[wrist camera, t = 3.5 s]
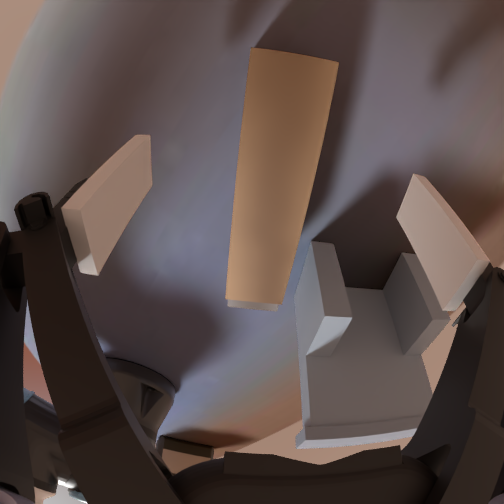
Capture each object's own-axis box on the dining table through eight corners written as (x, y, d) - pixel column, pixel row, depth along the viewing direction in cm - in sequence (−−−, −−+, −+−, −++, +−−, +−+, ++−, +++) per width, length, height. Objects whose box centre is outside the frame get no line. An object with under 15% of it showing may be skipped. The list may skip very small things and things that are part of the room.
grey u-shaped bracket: (288, 298, 30) (295, 448, 18) (305, 240, 25) (329, 417, 13) (393, 305, 30) (428, 432, 19) (422, 255, 26) (483, 394, 14)
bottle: (207, 450, 76) (201, 522, 56) (156, 439, 72) (145, 513, 52) (216, 446, 71) (210, 524, 52) (160, 434, 67) (148, 515, 48)
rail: (231, 253, 26) (224, 306, 22) (254, 47, 16) (251, 47, 11) (277, 258, 26) (279, 311, 22) (316, 57, 16) (339, 62, 11)
